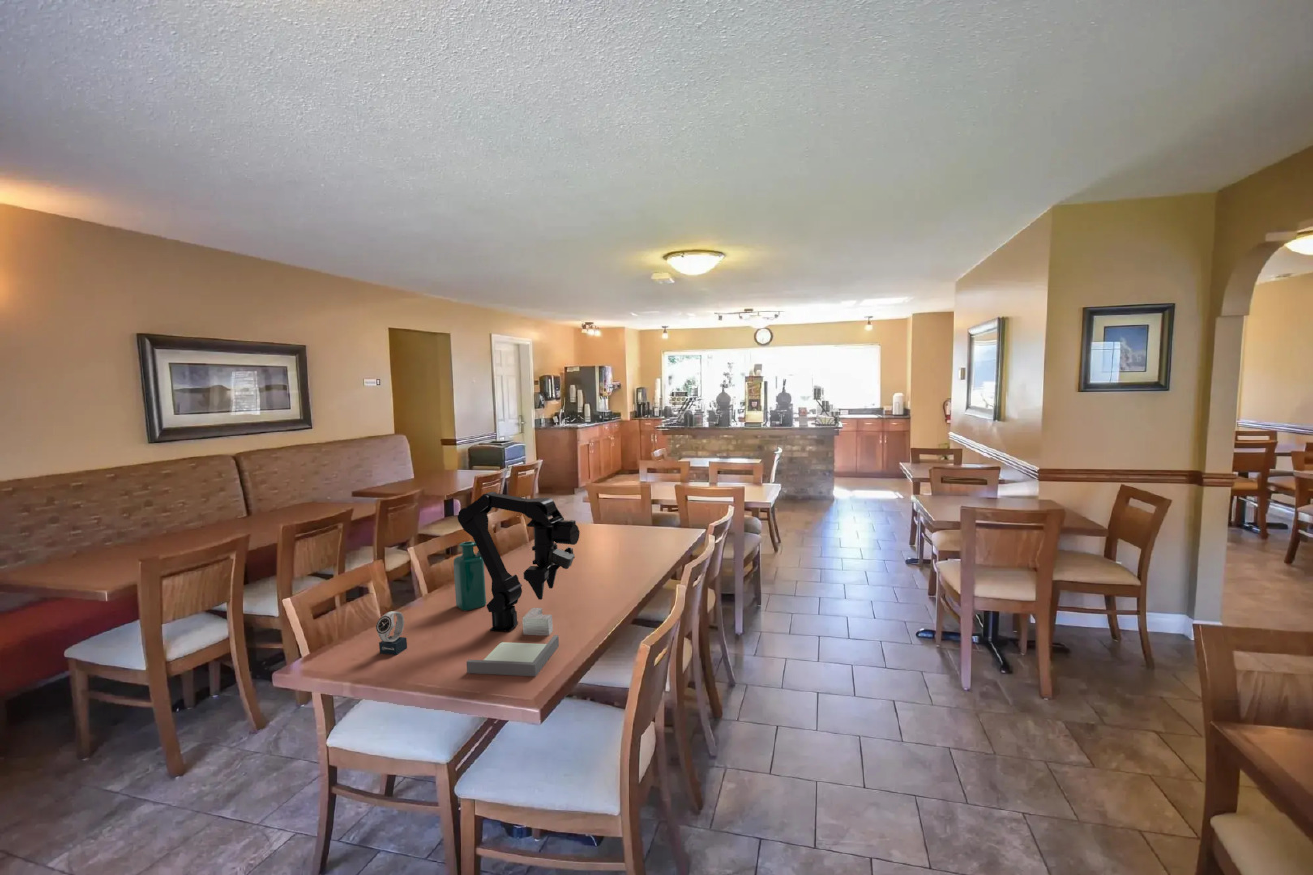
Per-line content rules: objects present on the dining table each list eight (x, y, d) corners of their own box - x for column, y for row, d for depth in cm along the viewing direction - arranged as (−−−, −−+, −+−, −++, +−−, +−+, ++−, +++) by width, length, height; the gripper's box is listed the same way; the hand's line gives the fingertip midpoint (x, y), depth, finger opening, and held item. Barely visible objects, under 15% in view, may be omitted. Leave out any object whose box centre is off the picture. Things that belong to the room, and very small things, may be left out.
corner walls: (466, 673, 144) (466, 661, 144) (496, 643, 161) (496, 633, 161) (535, 676, 141) (535, 664, 141) (558, 645, 158) (558, 635, 158)
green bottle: (463, 612, 186) (459, 546, 184) (454, 605, 193) (450, 542, 191) (492, 604, 192) (488, 541, 190) (482, 598, 199) (478, 536, 197)
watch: (374, 656, 156) (371, 617, 155) (395, 643, 164) (392, 606, 163) (391, 658, 154) (388, 619, 154) (411, 645, 162) (408, 608, 161)
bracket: (523, 634, 167) (522, 617, 166) (533, 623, 175) (532, 607, 174) (549, 635, 165) (548, 618, 165) (558, 624, 173) (557, 608, 173)
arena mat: (474, 670, 145) (474, 669, 145) (501, 643, 161) (501, 642, 161) (533, 673, 143) (533, 672, 143) (554, 645, 158) (554, 644, 158)
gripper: (560, 551, 155) (562, 606, 156) (579, 534, 173) (581, 583, 175) (521, 550, 156) (523, 605, 158) (545, 533, 175) (546, 582, 176)
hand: (545, 593), depth 167 cm, fingers open, 9 cm apart
